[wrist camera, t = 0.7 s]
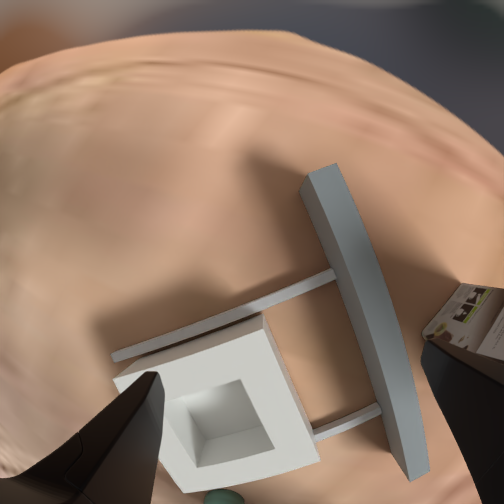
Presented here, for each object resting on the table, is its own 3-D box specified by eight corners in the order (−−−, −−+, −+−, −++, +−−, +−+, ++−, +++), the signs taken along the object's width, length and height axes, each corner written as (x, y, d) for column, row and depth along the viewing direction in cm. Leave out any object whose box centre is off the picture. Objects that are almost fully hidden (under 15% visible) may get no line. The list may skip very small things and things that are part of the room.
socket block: (311, 427, 22) (320, 460, 17) (195, 460, 22) (183, 493, 17) (263, 313, 23) (263, 328, 18) (139, 358, 23) (112, 379, 18)
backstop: (409, 444, 22) (430, 471, 17) (211, 509, 22) (204, 541, 17) (321, 182, 23) (336, 162, 18) (88, 282, 23) (54, 286, 18)
